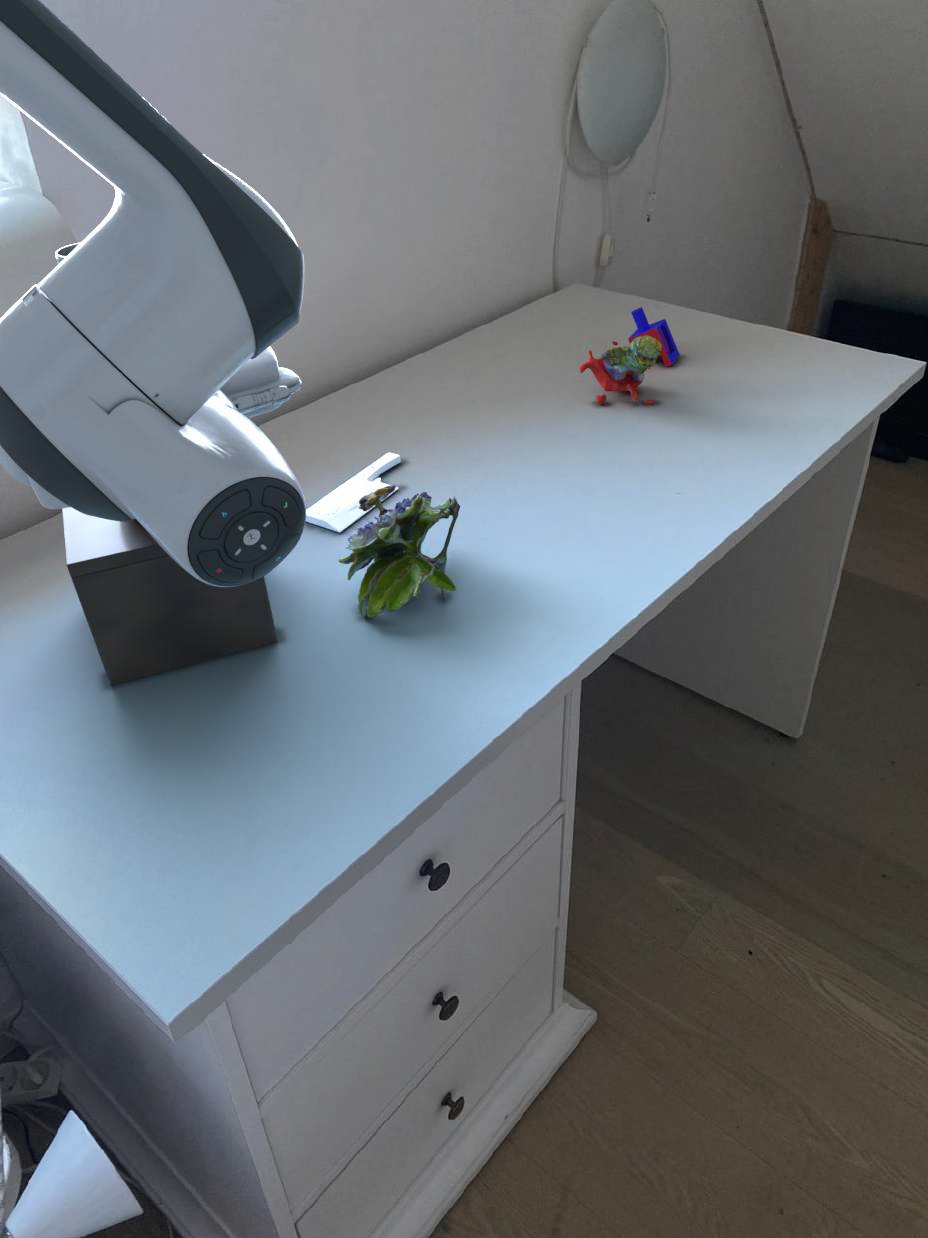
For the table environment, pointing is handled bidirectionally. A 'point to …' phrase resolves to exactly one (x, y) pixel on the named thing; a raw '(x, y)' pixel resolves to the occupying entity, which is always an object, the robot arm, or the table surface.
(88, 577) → the block with raised lip
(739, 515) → the table surface
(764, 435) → the table surface
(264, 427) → the table surface
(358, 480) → the white plastic strip tool
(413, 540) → the passion flower
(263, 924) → the table surface
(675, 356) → the blue and red dreidel
